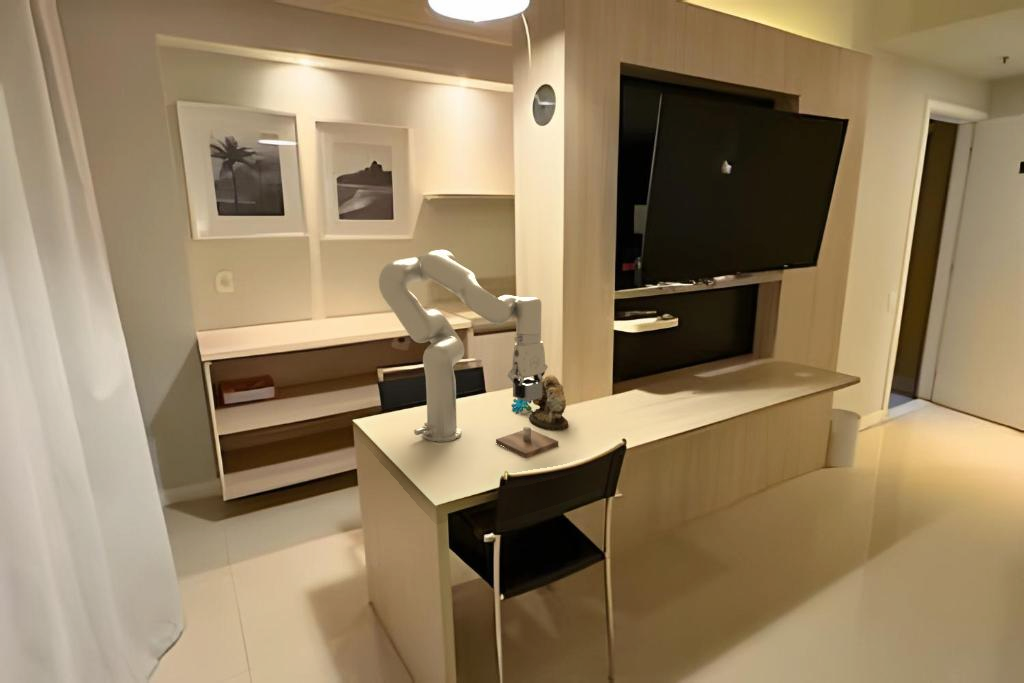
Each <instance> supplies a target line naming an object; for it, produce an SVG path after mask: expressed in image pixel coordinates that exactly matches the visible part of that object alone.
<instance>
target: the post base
mask: <svg viewBox="0 0 1024 683" xmlns="http://www.w3.org/2000/svg"><path fill="white" fill-rule="evenodd" d="M496 443H497V444H496ZM495 444H496V445H498V444H499V445H498V446H500V445H502V446H504V447H505V448H504V447H503V448H504V449H506V448H507V449H506V450H508V449H509V451H510V450H511V451H510V452H512V451H513V452H512V453H514V452H515V453H514V454H516V453H517V455H518V454H519V456H520V455H521V457H522V456H523V457H522V458H525V459H527V458H530V457H532V456H536V455H538V454H540V453H543V452H545V451H548V450H551V449H553V448H556V447H559V440H557V439H554V438H552V437H549V436H547V435H545V434H542V433H540V432H539V431H538V432H537V431H535V430H532V428H531V427H530V426H525V427H523V429H522V430H520V431H516V432H514V433H511V434H507V435H505V436H502V437H498V438H496V439H495ZM502 446H501V447H502Z"/></svg>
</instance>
